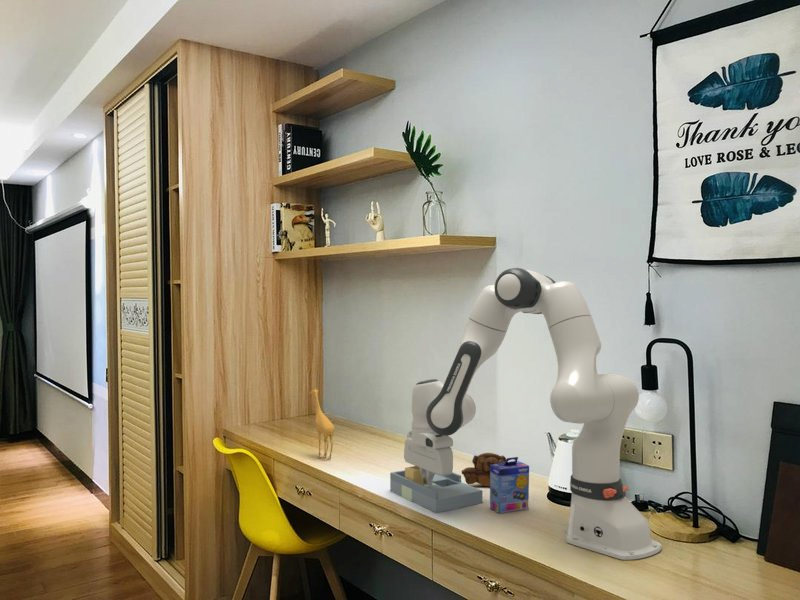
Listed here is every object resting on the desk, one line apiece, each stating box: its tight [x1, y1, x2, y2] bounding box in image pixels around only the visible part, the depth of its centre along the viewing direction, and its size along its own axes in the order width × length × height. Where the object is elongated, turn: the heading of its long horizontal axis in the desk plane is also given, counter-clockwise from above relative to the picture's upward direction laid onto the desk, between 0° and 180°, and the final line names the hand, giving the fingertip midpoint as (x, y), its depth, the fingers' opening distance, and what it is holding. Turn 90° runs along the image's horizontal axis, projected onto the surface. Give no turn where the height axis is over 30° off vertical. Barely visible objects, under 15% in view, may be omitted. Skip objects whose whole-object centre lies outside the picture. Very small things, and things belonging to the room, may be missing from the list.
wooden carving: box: [461, 452, 507, 487], centre depth 204 cm, size 16×5×10 cm, turn 99°
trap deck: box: [389, 469, 483, 514], centre depth 193 cm, size 24×16×6 cm, turn 32°
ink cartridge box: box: [489, 456, 530, 514], centre depth 182 cm, size 10×6×14 cm, turn 113°
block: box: [404, 465, 425, 485], centre depth 194 cm, size 4×4×5 cm
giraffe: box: [309, 387, 336, 460], centre depth 241 cm, size 16×4×25 cm, turn 35°
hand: (427, 484), depth 190 cm, fingers closed
